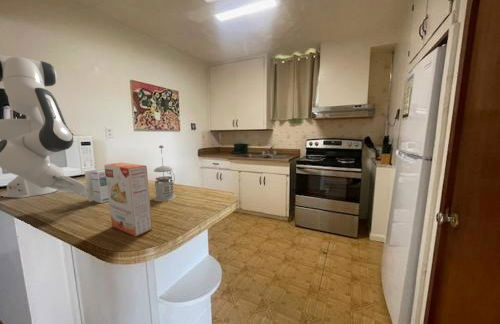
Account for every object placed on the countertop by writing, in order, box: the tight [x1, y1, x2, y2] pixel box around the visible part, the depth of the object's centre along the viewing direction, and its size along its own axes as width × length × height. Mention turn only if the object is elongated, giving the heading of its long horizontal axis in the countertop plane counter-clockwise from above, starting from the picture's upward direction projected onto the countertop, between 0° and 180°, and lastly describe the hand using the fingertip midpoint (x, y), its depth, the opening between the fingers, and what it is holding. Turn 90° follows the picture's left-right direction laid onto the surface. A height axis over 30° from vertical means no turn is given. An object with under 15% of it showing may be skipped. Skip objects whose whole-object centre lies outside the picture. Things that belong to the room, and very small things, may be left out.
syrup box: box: [91, 168, 109, 204], centre depth 94 cm, size 6×6×14 cm
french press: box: [153, 145, 177, 202], centre depth 97 cm, size 10×12×25 cm
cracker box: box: [104, 162, 153, 238], centre depth 65 cm, size 14×6×21 cm, turn 58°
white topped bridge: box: [84, 167, 105, 202], centre depth 99 cm, size 16×10×14 cm
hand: (81, 193), depth 87 cm, fingers open, 8 cm apart
